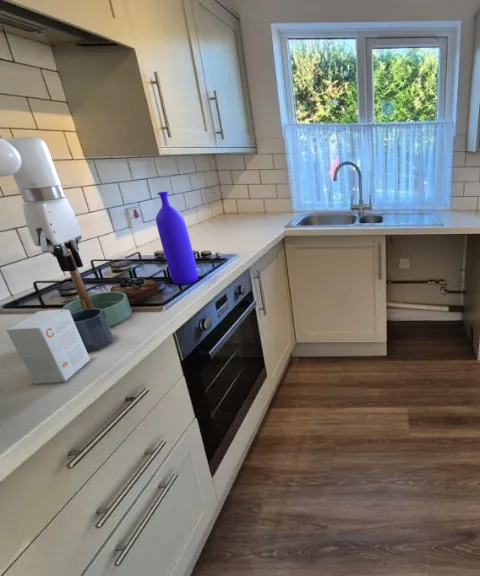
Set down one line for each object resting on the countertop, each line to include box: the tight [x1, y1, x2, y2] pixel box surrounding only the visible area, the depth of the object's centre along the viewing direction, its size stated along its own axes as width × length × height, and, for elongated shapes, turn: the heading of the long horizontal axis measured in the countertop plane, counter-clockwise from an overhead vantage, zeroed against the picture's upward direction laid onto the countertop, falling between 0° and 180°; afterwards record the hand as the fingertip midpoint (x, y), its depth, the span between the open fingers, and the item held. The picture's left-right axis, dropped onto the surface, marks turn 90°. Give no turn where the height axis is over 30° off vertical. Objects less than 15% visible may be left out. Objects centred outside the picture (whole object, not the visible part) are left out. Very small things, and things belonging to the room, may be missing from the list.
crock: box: [71, 308, 115, 353], centre depth 86 cm, size 7×7×8 cm
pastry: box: [109, 276, 160, 305], centre depth 113 cm, size 11×12×6 cm
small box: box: [6, 309, 91, 385], centre depth 75 cm, size 8×6×13 cm
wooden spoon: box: [66, 248, 94, 310], centre depth 92 cm, size 2×3×19 cm, turn 6°
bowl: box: [60, 291, 133, 327], centre depth 98 cm, size 14×14×6 cm
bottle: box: [155, 191, 199, 286], centre depth 119 cm, size 8×8×30 cm
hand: (72, 268), depth 91 cm, fingers closed on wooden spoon, 1 cm apart
